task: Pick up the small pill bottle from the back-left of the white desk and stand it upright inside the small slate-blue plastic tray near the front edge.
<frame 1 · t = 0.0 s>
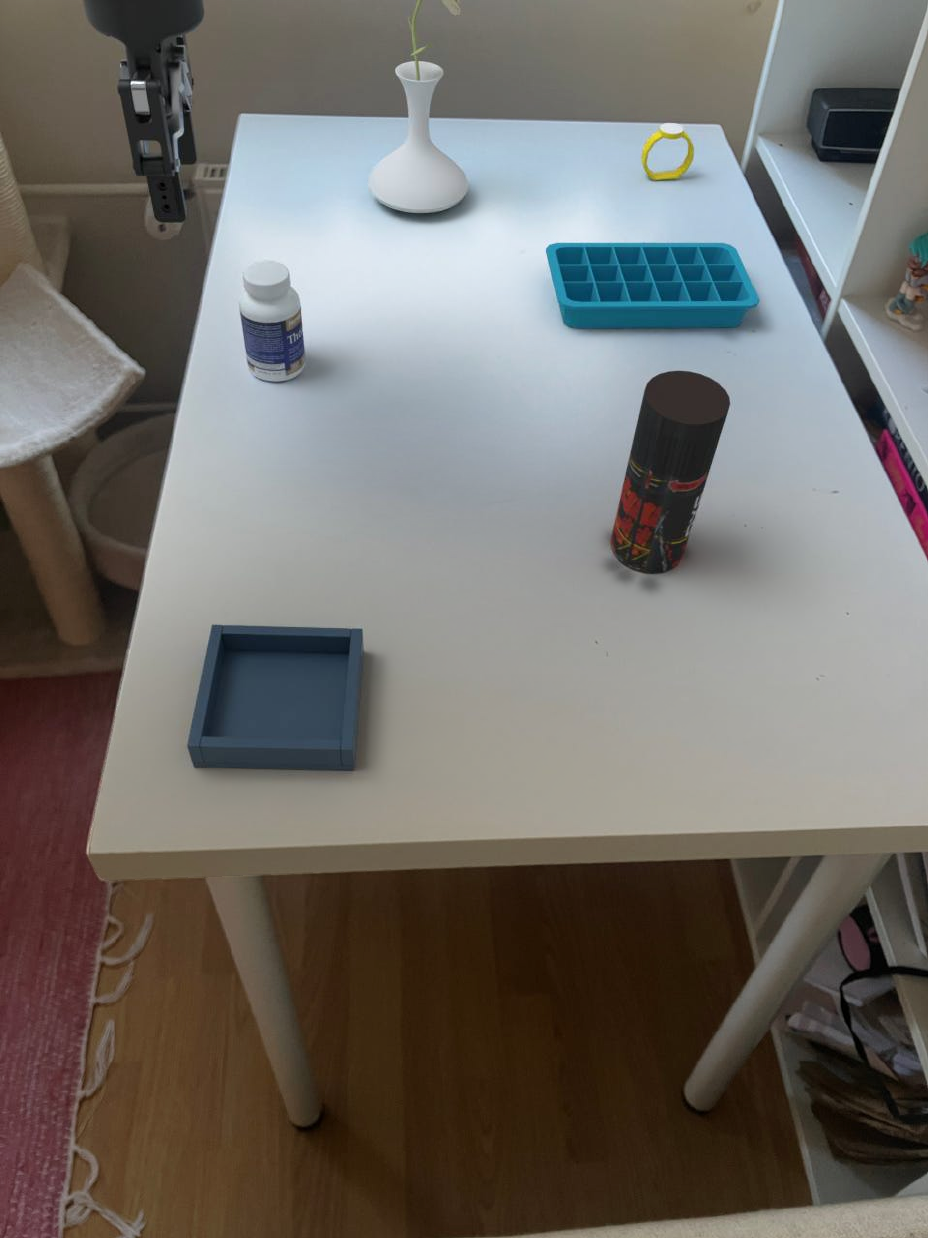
hand: (177, 190, 75), 20 cm above the table, tool pointing down, fingers open, 8 cm apart
pill bottle: (277, 367, 94), on the table
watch: (662, 179, 121), on the table
deodorant: (646, 548, 81), on the table
tray: (282, 706, 70), on the table
flower in vase: (418, 195, 116), on the table
ice cube tray: (644, 300, 104), on the table
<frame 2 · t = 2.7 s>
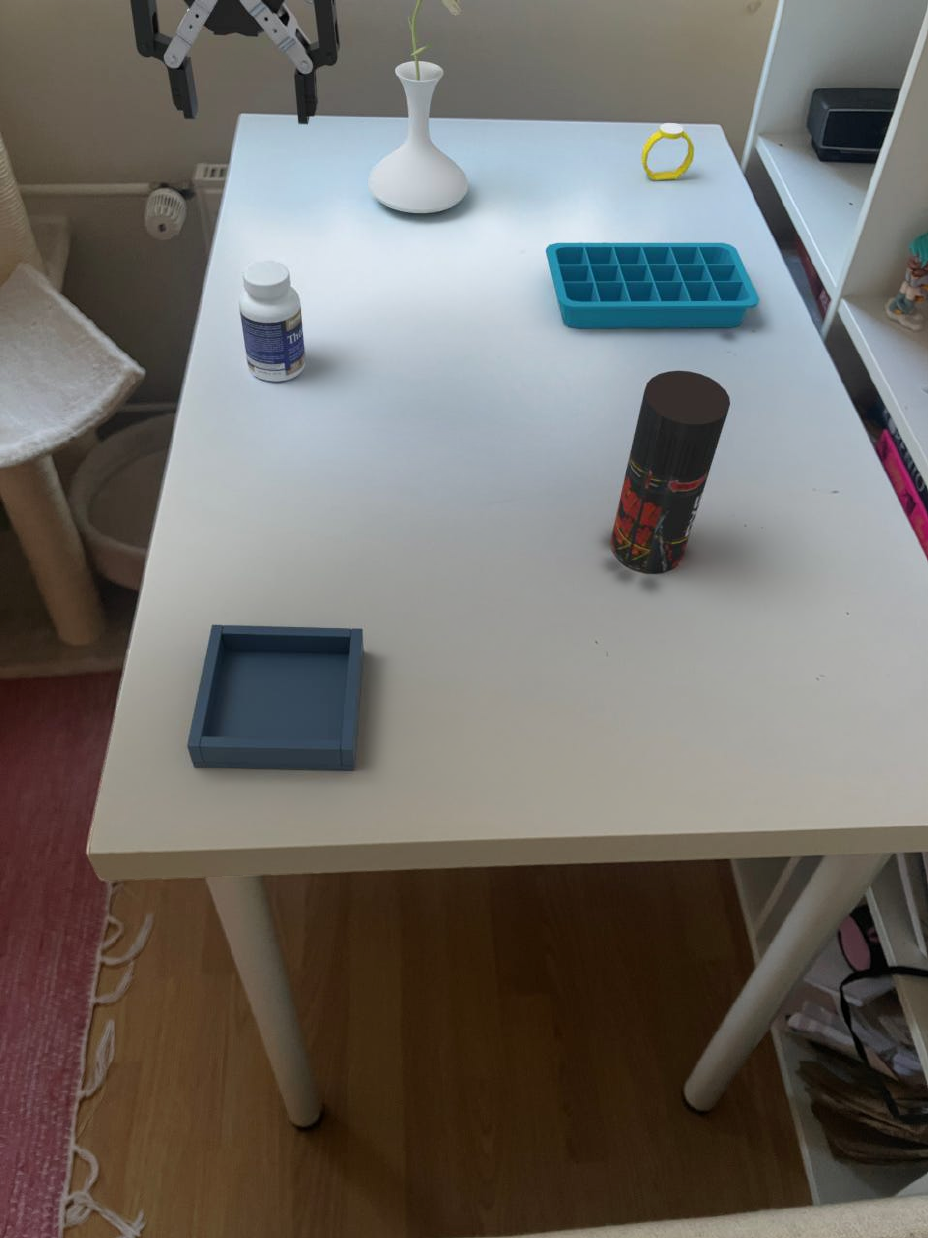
hand: (248, 117, 76), 23 cm above the table, tool pointing down, fingers open, 8 cm apart
nothing on the table moved.
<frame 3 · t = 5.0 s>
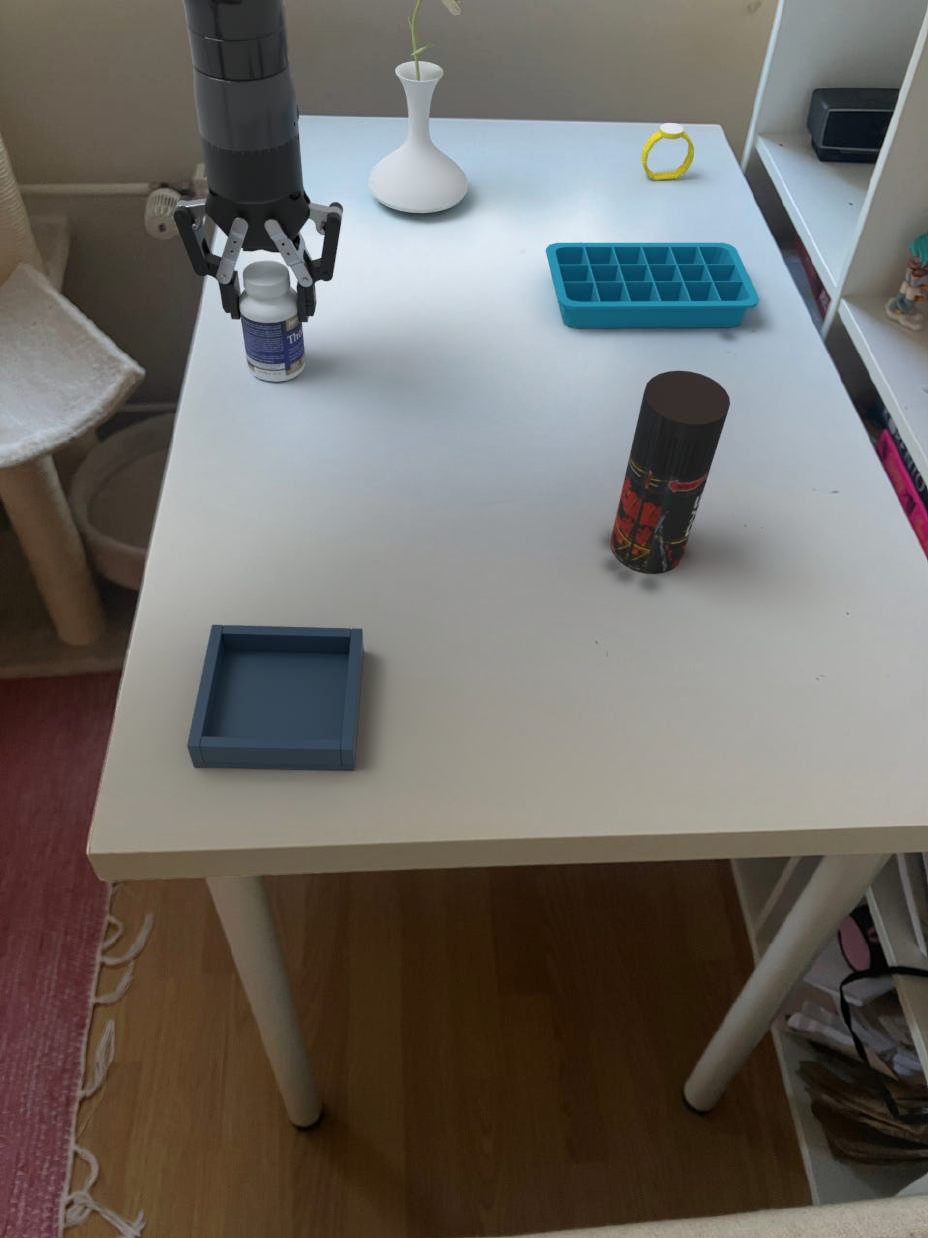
hand: (271, 315, 90), 5 cm above the table, tool pointing down, fingers closed on pill bottle, 5 cm apart
pill bottle: (277, 367, 94), on the table, touching gripper
everything else where it was.
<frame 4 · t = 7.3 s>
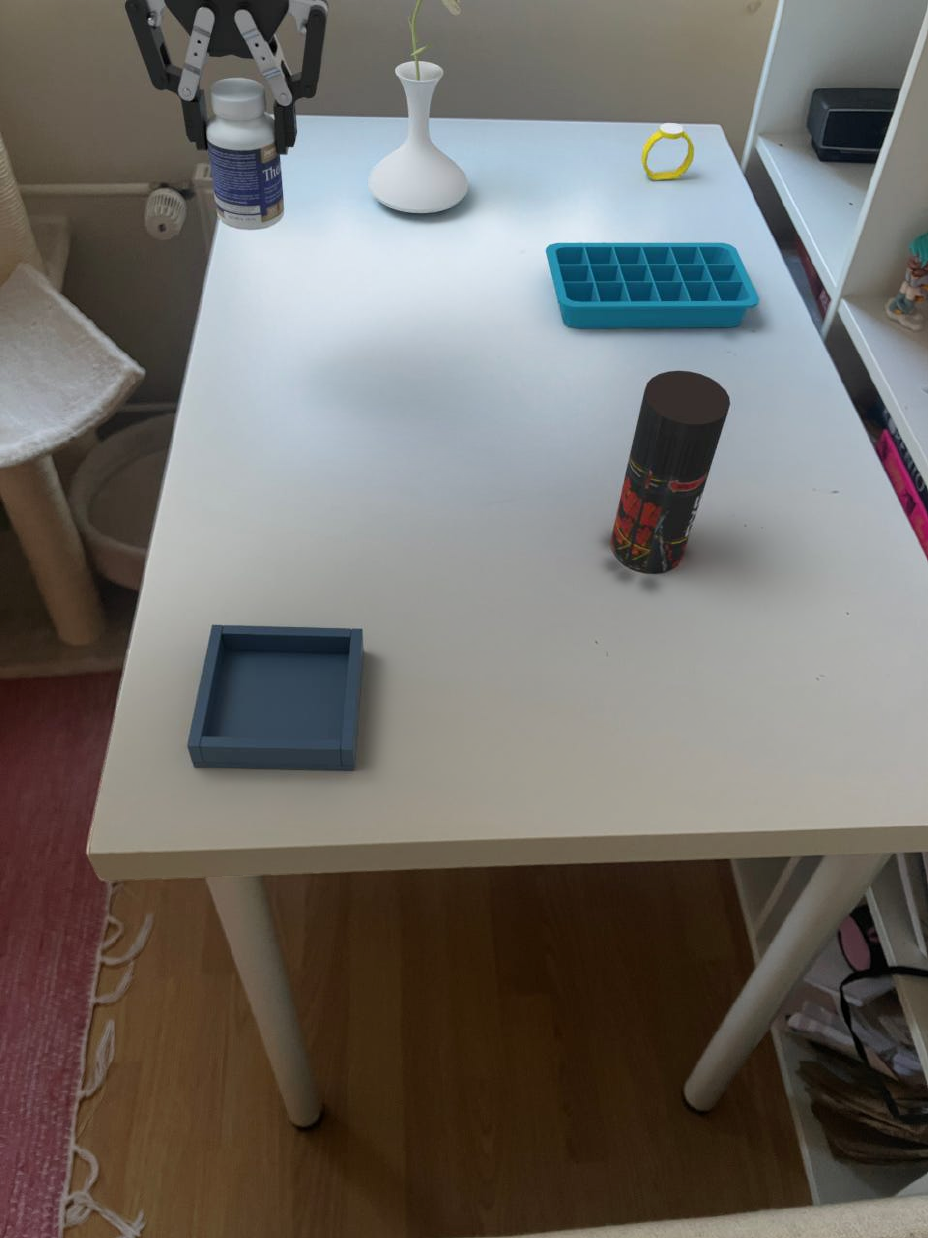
hand: (244, 147, 76), 21 cm above the table, tool pointing down, fingers closed on pill bottle, 5 cm apart
pill bottle: (251, 217, 81), point 16 cm above the table, touching gripper
everything else where it was.
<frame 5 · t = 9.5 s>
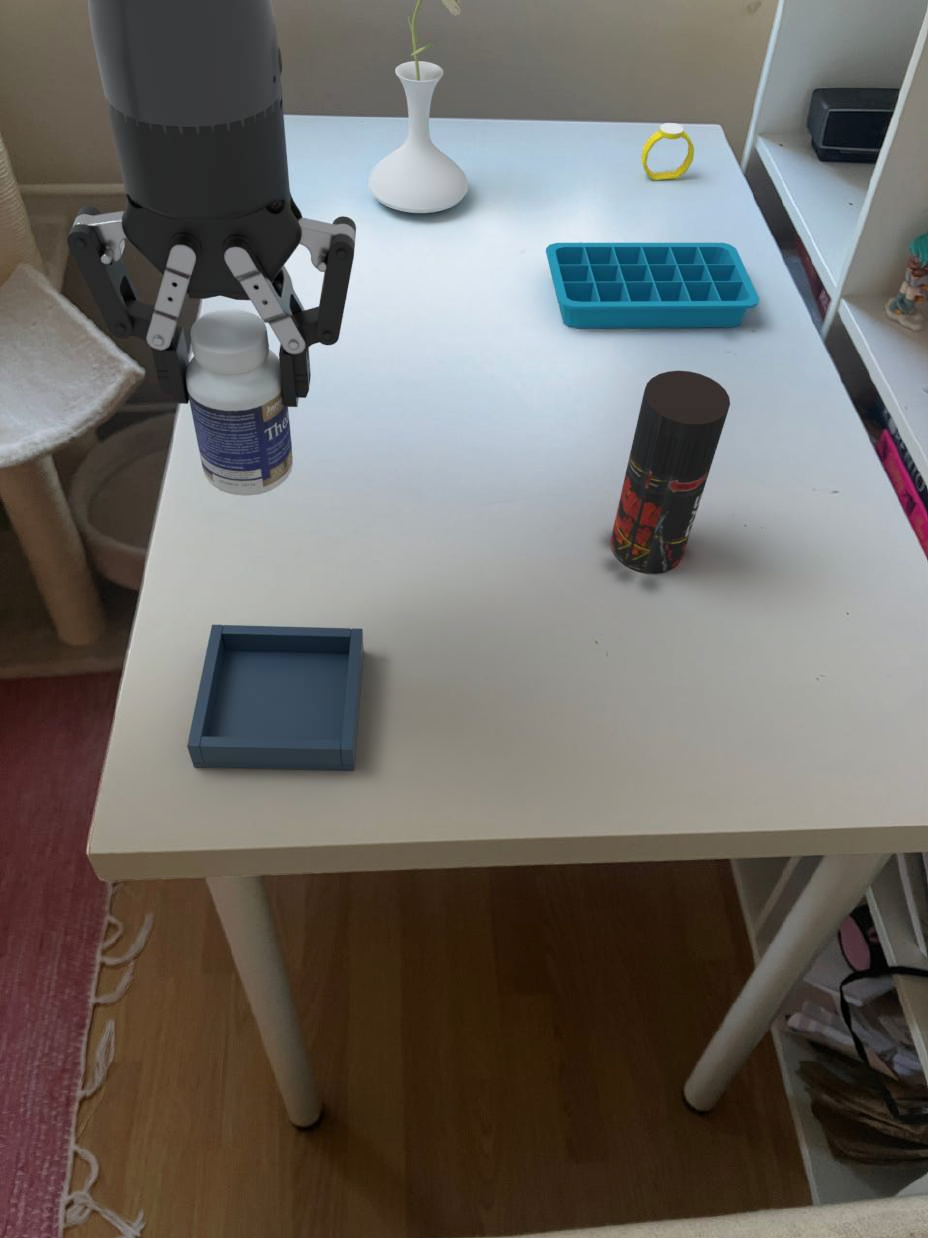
hand: (238, 395, 56), 22 cm above the table, tool pointing down, fingers closed on pill bottle, 5 cm apart
pill bottle: (249, 470, 61), point 16 cm above the table, touching gripper
everything else where it was.
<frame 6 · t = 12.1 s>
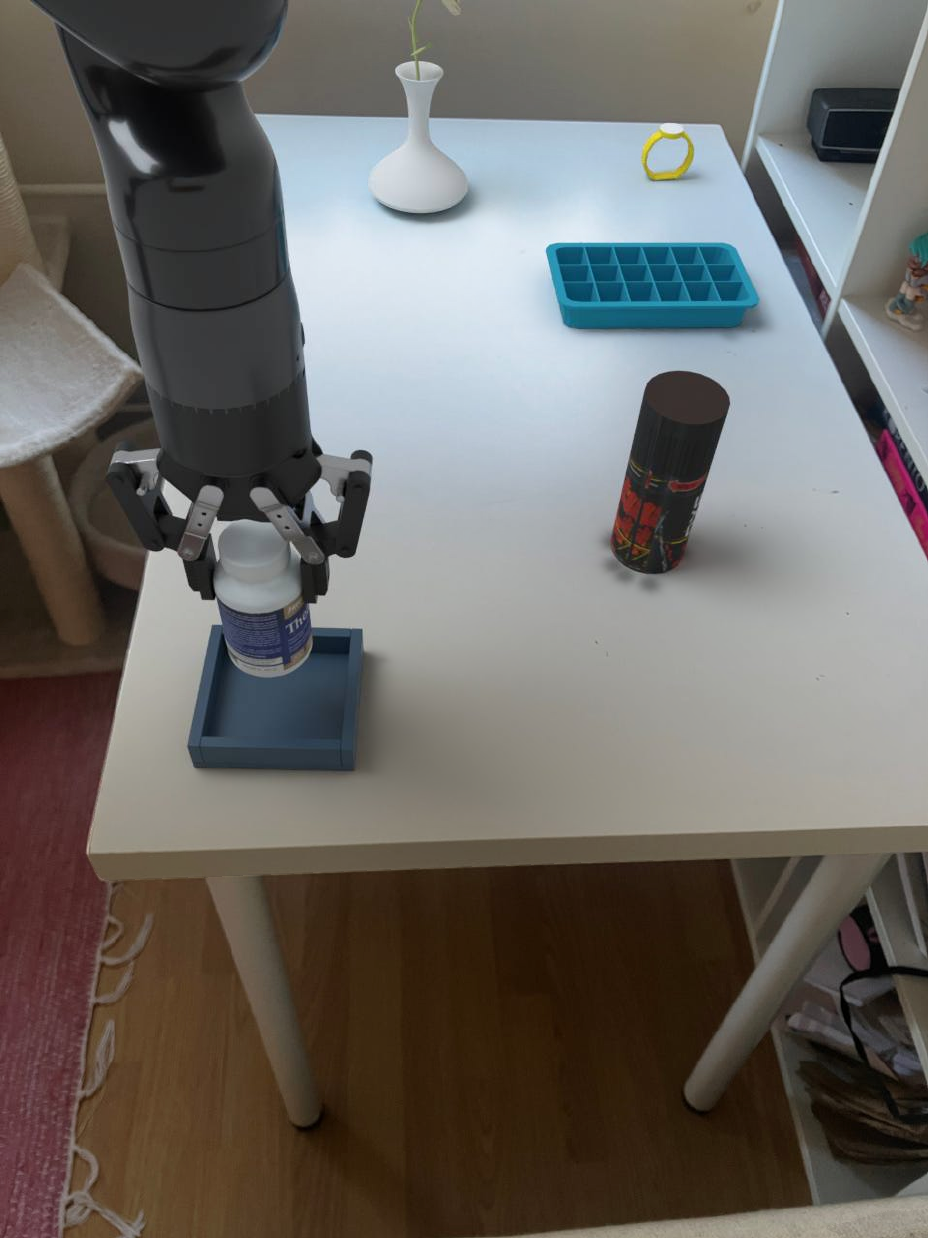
hand: (262, 590, 60), 12 cm above the table, tool pointing down, fingers closed on pill bottle, 5 cm apart
pill bottle: (271, 648, 64), point 7 cm above the table, touching gripper
everything else where it was.
when the fingers open (6 cm above the table, at t = 14.1 s): pill bottle stays where it is, resting on tray.
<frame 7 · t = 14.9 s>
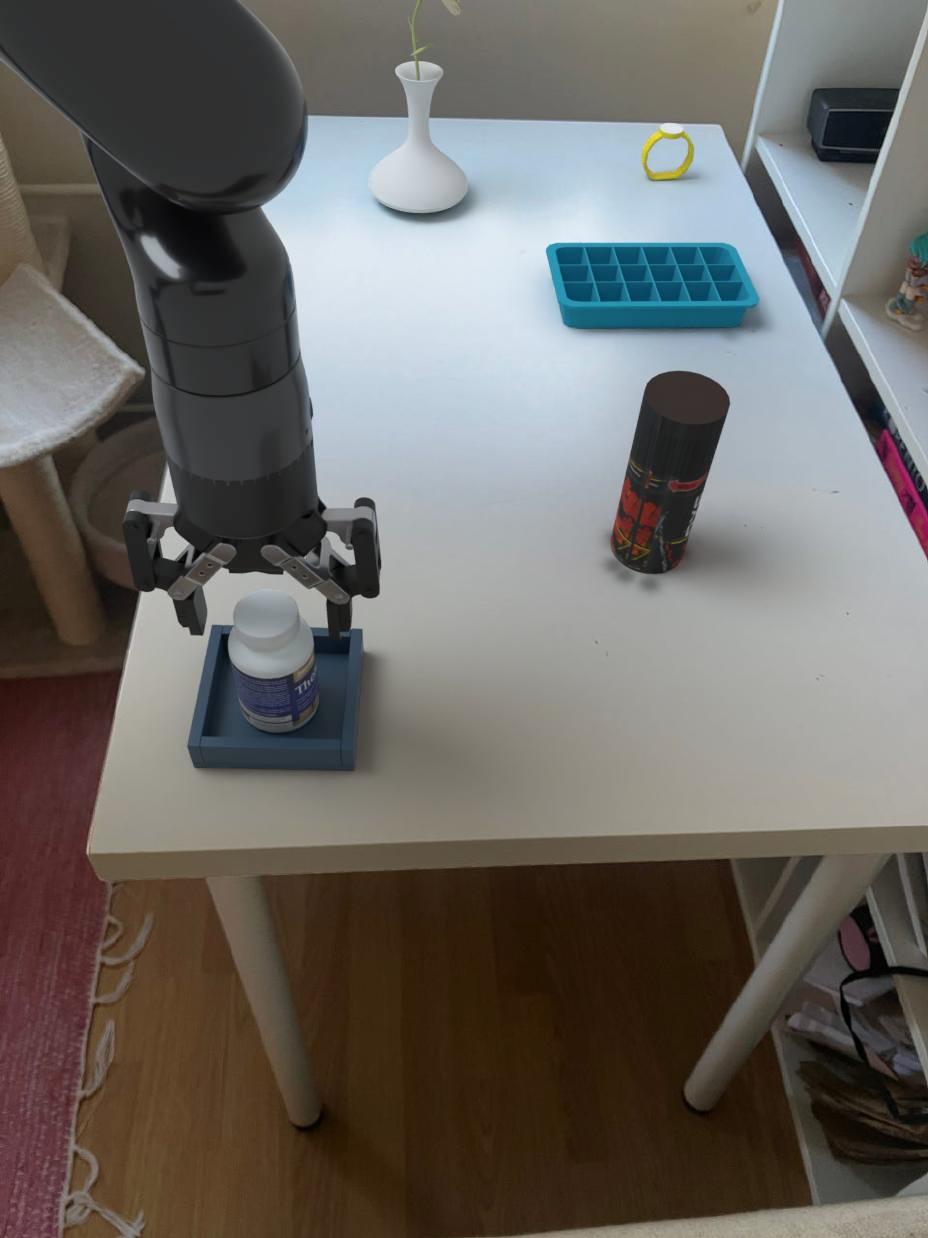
hand: (268, 627, 63), 8 cm above the table, tool pointing down, fingers open, 8 cm apart
pill bottle: (281, 704, 69), resting on tray
everything else where it was.
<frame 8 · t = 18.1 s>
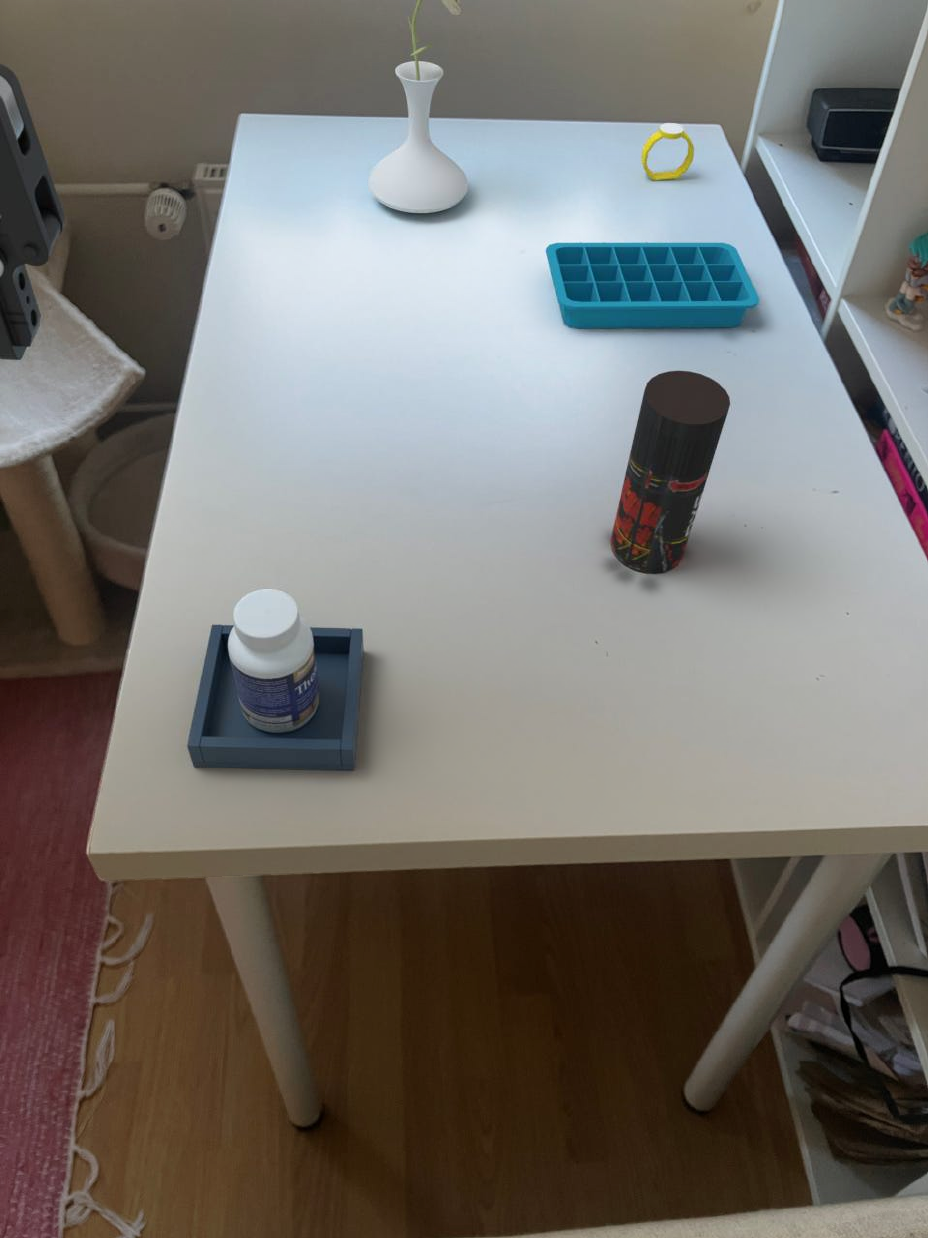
nothing on the table moved.
at the end: pill bottle inside the target area in the tray (0.2 cm from its centre), point 0.4 cm above the tray's base; pill bottle tilted 0°; the gripper is holding nothing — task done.
